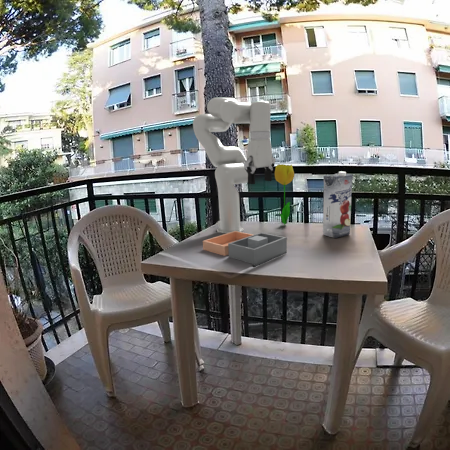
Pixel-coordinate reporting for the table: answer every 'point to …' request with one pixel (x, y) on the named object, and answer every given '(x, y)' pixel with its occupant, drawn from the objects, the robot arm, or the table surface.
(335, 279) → the table surface
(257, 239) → the block
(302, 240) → the table surface
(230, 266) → the table surface
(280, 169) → the flower
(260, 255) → the bin
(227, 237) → the trough
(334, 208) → the juice carton
